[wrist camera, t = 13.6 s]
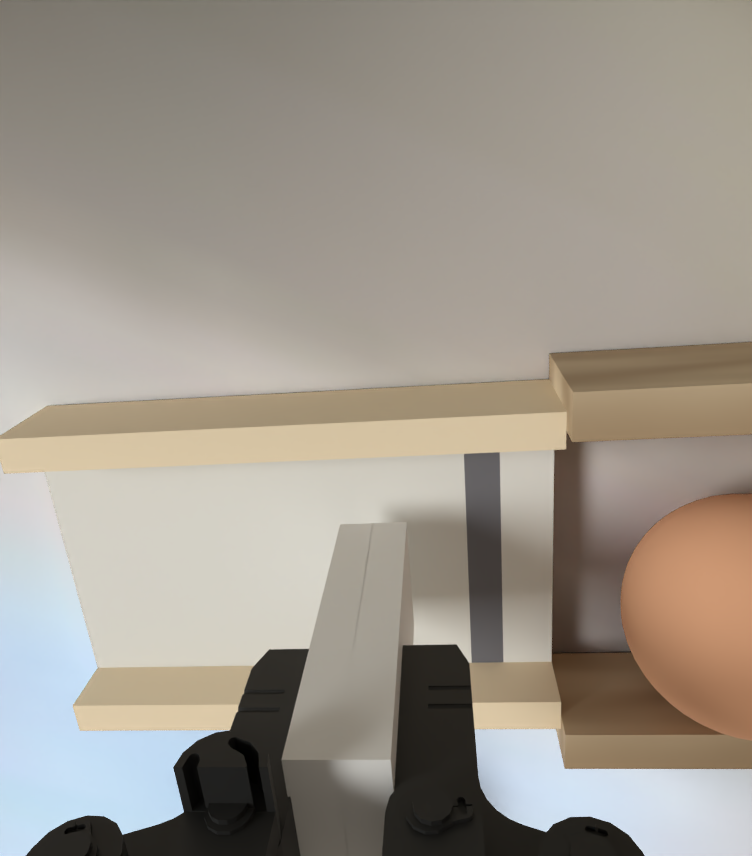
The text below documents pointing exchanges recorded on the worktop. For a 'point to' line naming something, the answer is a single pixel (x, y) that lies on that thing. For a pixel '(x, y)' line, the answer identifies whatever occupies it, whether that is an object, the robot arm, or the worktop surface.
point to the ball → (696, 611)
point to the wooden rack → (626, 420)
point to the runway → (299, 535)
